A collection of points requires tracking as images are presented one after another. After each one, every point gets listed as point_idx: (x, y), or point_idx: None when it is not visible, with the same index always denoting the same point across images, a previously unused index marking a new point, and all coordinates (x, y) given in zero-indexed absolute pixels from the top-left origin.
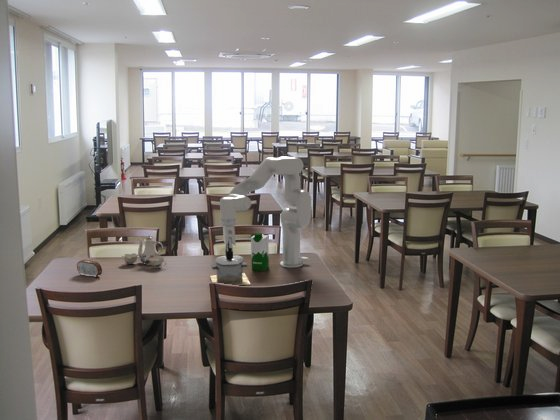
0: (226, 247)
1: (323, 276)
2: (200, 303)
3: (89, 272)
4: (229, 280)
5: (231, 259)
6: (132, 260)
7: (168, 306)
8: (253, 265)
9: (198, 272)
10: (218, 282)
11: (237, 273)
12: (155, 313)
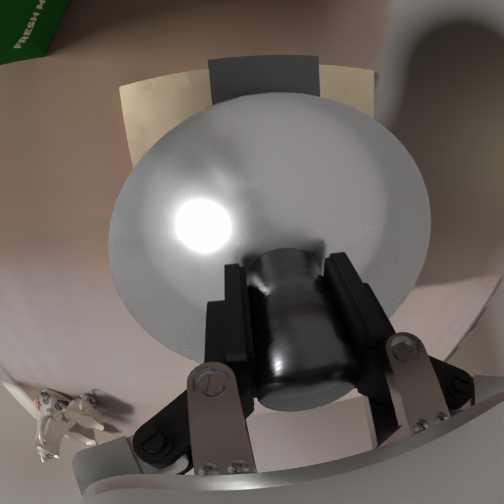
0: (246, 425)
1: None
2: (460, 294)
3: None
4: None
5: (317, 258)
6: (89, 431)
7: (429, 353)
8: (34, 43)
9: (101, 323)
10: None
11: None
12: (445, 360)
